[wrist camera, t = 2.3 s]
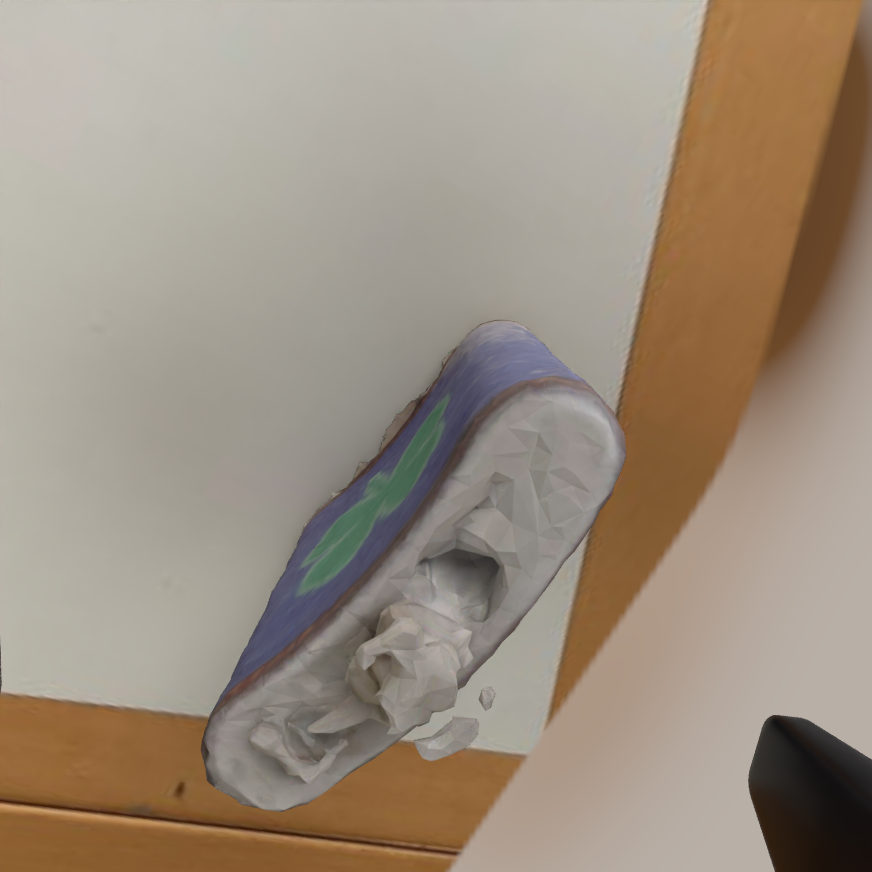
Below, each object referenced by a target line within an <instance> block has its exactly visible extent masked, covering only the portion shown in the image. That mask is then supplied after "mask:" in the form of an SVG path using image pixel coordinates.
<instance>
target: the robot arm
mask: <svg viewBox="0 0 872 872" xmlns="http://www.w3.org/2000/svg"><path fill="white" fill-rule="evenodd" d="M1 684H2V681H1V647H0V692H1ZM748 782H749V791H750V795H751V799H752V802H753V805H754V808H755V811H756V814H757V817H758V821H759V824H760V827H761V830H762V833H763V836H764V839H765V842H766V845H767V848H768V851H769V854H770V858H771V860H772V864H773V867H774V870H775V872H872V759H870V758H868V757H867V756H865V755H863V754H862V753H860V752H859V751H857V750H855V749H854V748H852V747H851V746H849V745H847V744H846V743H844V742H842V741H841V740H839V739H838V738H836V737H835V736H833V735H831V734H830V733H828V732H826V731H825V730H823V729H822V728H820V727H818V726H817V725H815V724H814V723H812V722H810V721H808V720H806V719H803V718H798V717H788V716H780V715H773V716H771V717H769V718H768V719H767V720H766V721H765V722H764V725H763V727H762V730H761V734H760V737H759V741H758V744H757V747H756V750H755V754H754V757H753V760H752V764H751V767H750V771H749V779H748Z"/></svg>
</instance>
